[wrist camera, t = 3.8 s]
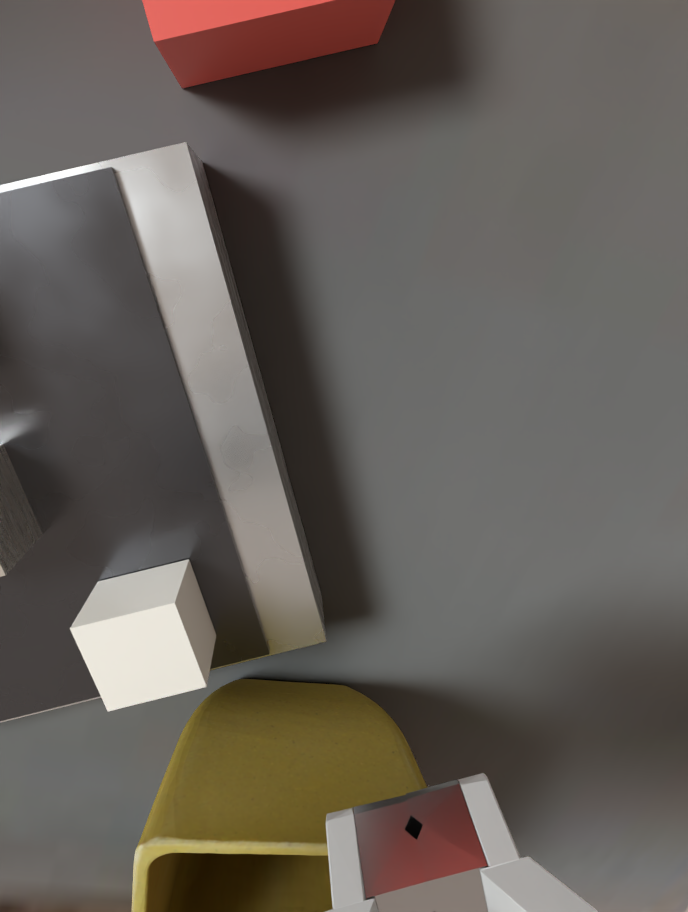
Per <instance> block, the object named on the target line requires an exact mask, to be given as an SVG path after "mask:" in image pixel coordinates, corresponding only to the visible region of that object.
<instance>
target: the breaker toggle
mask: <svg viewBox="0 0 688 912" xmlns="http://www.w3.org/2000/svg"><path fill="white" fill-rule="evenodd" d="M70 630H71V633H72V635H73V637H74V639H75V641H76V643H77V646H78V648H79V650H80V652H81V654H82V656H83V659H84V661H85V663H86V665H87V667H88V669H89V672H90V674H91V676H92V678H93V680H94V682H95V685H96V687H97V689H98V691H99V693H100V695H101V698H102V700H103V702H104V704H105V706H106V709H107V711H112V710H116V709H120V708H124V707H128V706H132V705H136V704H140V703H144V702H148V701H152V700H156V699H160V698H164V697H168V696H172V695H176V694H180V693H184V692H188V691H192V690H196V689H200V688H204V687H207V682H208V677H209V671H210V666H211V661H212V656H213V650H214V645H215V640H216V633H215V630H214V627H213V624H212V622H211V619H210V616H209V613H208V610H207V608H206V605H205V602H204V599H203V596H202V594H201V591H200V588H199V585H198V582H197V580H196V577H195V574H194V571H193V569H192V566H191V563H190V560H189V559H188V560H184V561H180V562H176V563H171V564H167V565H163V566H159V567H155V568H151V569H147V570H143V571H139V572H135V573H131V574H127V575H123V576H118V577H114V578H110V579H106V580H102V581H98V582H97V584H96V585H95V587H94V589H93V590H92V592H91V594H90V595H89V597H88V599H87V600H86V602H85V604H84V606H83V607H82V609H81V611H80V612H79V614H78V616H77V617H76V619H75V621H74V622H73V624H72V626H71V627H70Z"/></svg>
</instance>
